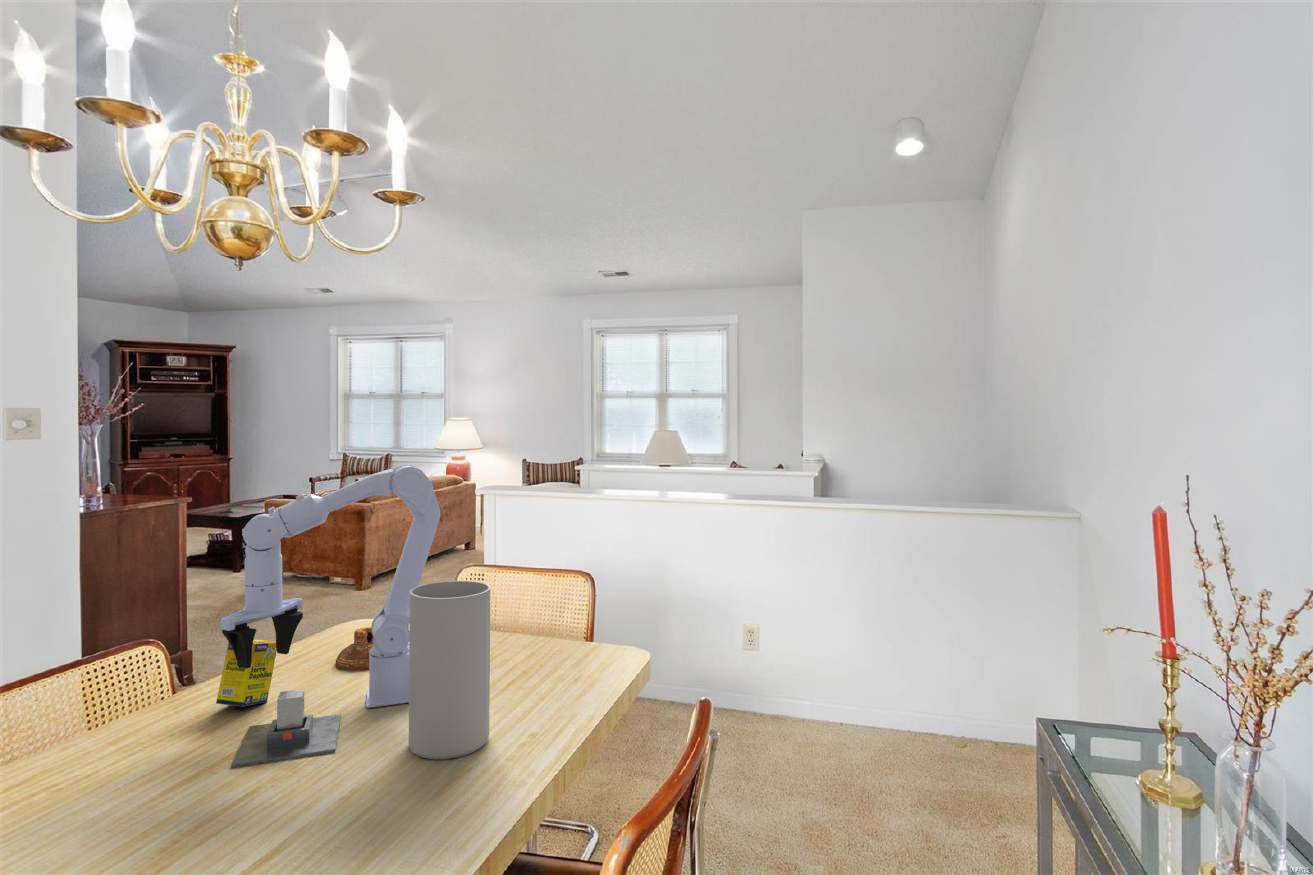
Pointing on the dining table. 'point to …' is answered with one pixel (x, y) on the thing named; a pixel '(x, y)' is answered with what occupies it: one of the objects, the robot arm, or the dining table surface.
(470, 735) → the cylinder vase
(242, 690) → the supplement box
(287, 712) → the column
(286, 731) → the stand base
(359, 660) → the bell
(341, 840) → the dining table surface
